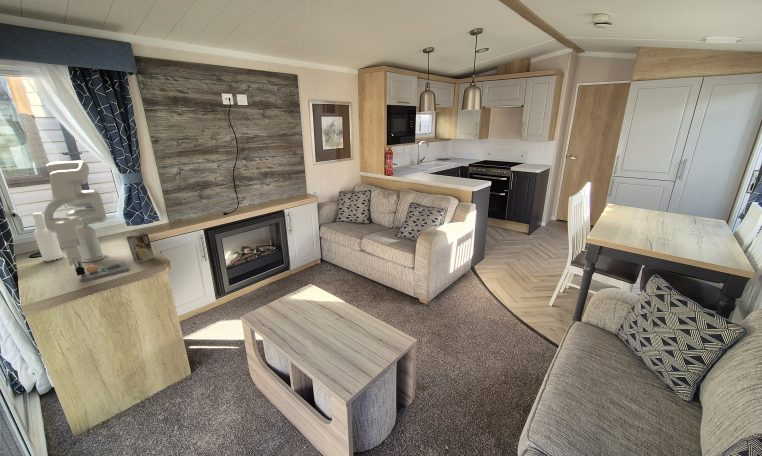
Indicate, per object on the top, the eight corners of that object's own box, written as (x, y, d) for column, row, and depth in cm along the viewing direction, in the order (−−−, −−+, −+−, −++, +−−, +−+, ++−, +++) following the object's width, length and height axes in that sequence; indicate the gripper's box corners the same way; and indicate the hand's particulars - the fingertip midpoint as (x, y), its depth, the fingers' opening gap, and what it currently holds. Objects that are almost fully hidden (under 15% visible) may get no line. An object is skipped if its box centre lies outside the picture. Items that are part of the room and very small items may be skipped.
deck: (82, 282, 167) (81, 279, 167) (81, 273, 177) (80, 271, 177) (129, 270, 180) (128, 268, 180) (126, 263, 190) (125, 260, 190)
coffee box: (149, 256, 201) (143, 232, 195) (154, 258, 197) (148, 233, 192) (133, 261, 193) (126, 236, 188) (137, 263, 190) (130, 238, 185)
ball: (85, 274, 173) (83, 266, 172) (93, 270, 177) (90, 263, 176) (93, 274, 173) (90, 267, 171) (100, 270, 177) (98, 263, 176)
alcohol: (67, 256, 202) (51, 211, 192) (51, 262, 193) (34, 215, 184) (55, 255, 203) (39, 210, 193) (39, 261, 195) (21, 214, 185)
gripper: (61, 241, 169) (72, 272, 175) (60, 248, 158) (71, 281, 164) (80, 237, 174) (90, 268, 179) (80, 245, 163) (90, 276, 169)
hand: (81, 274), depth 172 cm, fingers closed
